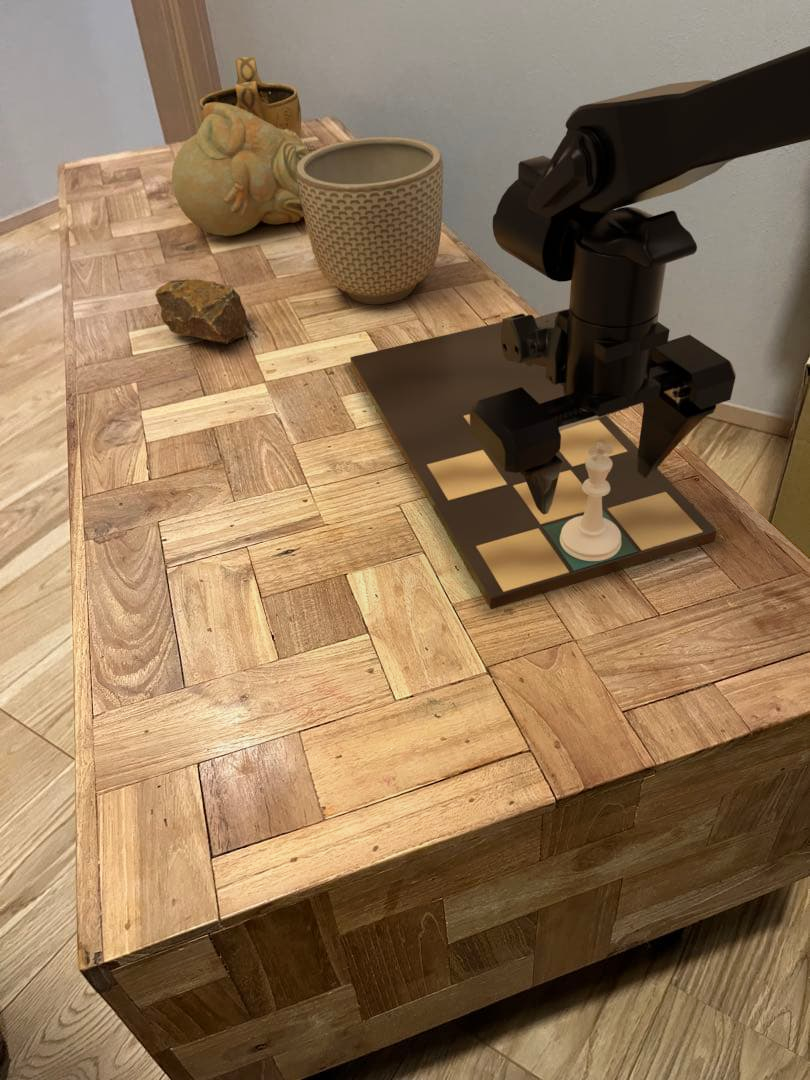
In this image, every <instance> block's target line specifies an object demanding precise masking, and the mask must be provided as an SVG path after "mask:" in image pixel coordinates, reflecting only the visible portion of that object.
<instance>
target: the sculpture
mask: <svg viewBox="0 0 810 1080" xmlns="http://www.w3.org/2000/svg"><path fill="white" fill-rule="evenodd" d="M203 112H204V118H205V119H204V121H203V122H201V124H200V125H199V128H198V130H197V132H196V133H195V134H194V135H192V136H191V137H190V138H189V139H187V140H186V141H185V142H184V143H183V145H182V146H181V147H180V149H179V150H178V152H177V154H176V156H175V159H174V162H173V165H172V173H171V175H172V176H171V181H172V182H171V183H172V189H173V193H174V196H175V197H174V198H175V199H176V202H177V205H178V206H179V208H180V209H181V211H182V212H183V214H184V216H186V218H188V219H189V220H190V222H191V223H192V224H194V225H195V226H196V227H198V228H199V229H200V230H201V229H202V230H203V231H205V232H206V233H210V234H213V235H215V236H223V237H224V236H226V237H229V236H231V237H232V236H237V235H241V234H244V233H246V232H249V231H250V230H252V229H253V228H255V227H256V226H257V225H258V224H259V223H260V222H261V223H264V224H267V225H274V226H277V225H282V224H288V223H290V224H294V223H297V222H299V221H300V219H303V218H304V214H303V210H302V205H301V201H300V197H299V192H298V187H297V180H296V167H297V164H298V163H299V161H300V160H301V159H302V158H303V157H305V156H306V155H308V154H309V153H311V152H310V151H309V149H308V148H307V146H306V144H305V143H304V142H303V140H302V139H301V138H300V136H299V137H298V136H297V135H296V133H295V132H293V131H291V130H289V129H285V130H281V129H279V128H276V127H275V126H273V125H272V124H270V123H268V122H266V121H263V120H262V119H260V118H258V117H257V116H255V115H253V114H252V113H249V112H247V111H246V110H243V109H240V108H238V107H236V106H232V105H229V104H225V103H219V102H212V103H208V104H207V103H206V104H205V106H204V110H203Z"/></svg>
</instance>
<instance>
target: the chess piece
mask: <svg viewBox="0 0 810 1080" xmlns="http://www.w3.org/2000/svg"><path fill="white" fill-rule="evenodd" d="M604 445H605V441H604V439H598V443H597V446H589V448H588V452H589V454H595V455H591V456H589V457H588V458H587V459H586V461H585V466H586V469H587V471H588V476H589V479H587V480H585V481H584V483H583V485H582V490H583V491H584V492H585V493H586V494H587V495H589V496H588V501H587V504H586V508H585V512H584V515H583V516H578V517H575V518H573V519H571V520H569V521H568V522H567V523H566V524H565V525H564V526H563V528H562V531H561V534H560V544H561V546H562V548H563V549H564V550H565V551H566V552H567V553H568V554H570V555H571V556H573V557H575V558H577V559H580V560H585V561H602V560H606V559H608V558H611V557H612V556H614V555H615V554H616V553H617V552H618V551H619V550H620V548H621V543H622V542H621V533H620V530H619V529H618V527H617V526H616V525H615V524H614V523H613V522H611V521H610V520H608V519H606V518H603V516H602V496H605V495H607V494H608V493H609V492H610V485H609V483H608V482H607V481H606V480H605V479H606V477H607V475H608V473H609V472H610V470H611V468H612V465H613V463H612V460H611V459H610V458H609V457H607V456H605V455H603V454H612V450H613V448H612V445H607V446H604Z"/></svg>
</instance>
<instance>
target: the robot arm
mask: <svg viewBox="0 0 810 1080" xmlns="http://www.w3.org/2000/svg"><path fill="white" fill-rule="evenodd" d="M565 128H566V129H567V130H566V133H565V135H564V136H563V138H562V140H561V141H560V143H559V145H558V146H557V148H556V150H555V152H554V153H553V155H552V157H551V158H549V157H548V156H545V155H540V156H535V157H531V158H528V159H525V160H520V161H519V163H518V167H517V168H518V169H517V179H516V180H514V181H513V183H511V185H509V186H508V188H507V189H506V190H505V192H504V193H503V195H502V196H501V198H500V200H499V202H498V204H497V207H496V211H495V213H494V214H493V216H492V233H493V237H494V238H495V239H494V240H495V242H496V243H497V245H498V246H499V247H500V249H501V250H503V251H504V252H506V253H507V254H509V255H511V256H512V257H513V258H516V259H517V260H519V261H521V262H522V263H524V264H526V265H527V266H528V267H530V268H532V269H533V270H535V271H537V272H538V273H540V274H542V275H543V276H545V277H546V278H548V279H550V280H552V281H555V282H557V283H563V282H569V281H570V292H569V305H568V308H567V309H561V310H558V311H555V312H550V313H548V314H547V313H546V314H544V315H541V316H537V317H534V315H533V314H527V315H526V314H525V313H518V314H514V315H511V316H508V317H505V318H502V319H501V322H502V329H501V344H502V350H503V355H504V356H505V358H506V359H507V360H508V361H511V362H515V363H519V364H520V363H524V362H525V363H526V365H528V366H532V365H533V364H534V365H538V366H542V367H546V378H547V379H548V380H549V381H550V382H551V383H552V384H553V385H557V384H561V385H562V386H564V390H563V392H564V395H565V396H562V397H559V398H556V399H553V400H550V401H547V402H544V403H540V404H539V403H538V402H537V401H536V400H535V399H534V398H533V397H532V396H531V395H529V394H528V393H527V392H526V391H525V390H524V389H523V388H522V387H520V388H517V389H514V390H511V391H507V392H504V393H501V394H498V395H495V396H491V397H488V398H485V399H482V400H479V401H478V402H476V403H475V404H474V405H473V407H472V410H471V412H470V433H471V434H472V435H473V436H474V438H475V439H476V440H477V441H478V442H479V443H480V444H481V445H482V446H483V447H484V449H485V450H486V451H487V452H488V453H489V454H490V455H491V456H492V457H493V458H494V460H495V461H496V462H497V463H498V464H499V465H500V466H501V467H502V468H503V470H504V471H507V472H513V473H518V472H519V473H520V474H521V475H523V476H524V477H525V480H526V482H527V485H528V487H529V490H530V492H531V495H532V497H533V500H534V502H535V504H536V507H537V508H538V510H539V511H540V512H541V513H542V514H543V515H545V514H547V513H548V512H549V510H550V507H551V505H552V502H553V498H554V494H555V490H556V486H557V481H558V477H559V473H560V469H561V465H562V460H561V459H560V458H559V457H558V456H557V455H556V454H557V452H558V451H559V450H560V446H561V434H560V432H559V431H561V430H564V429H567V428H571V427H574V426H577V425H580V424H583V423H586V422H589V421H592V420H595V419H598V418H601V417H604V416H609V415H612V414H616V413H619V412H621V411H624V410H628V409H629V408H631V407H634V406H636V405H640V404H642V407H643V411H642V418H641V426H640V433H639V439H638V447H637V448H638V461H637V470H638V472H639V474H641V475H642V476H643V477H644V478H647V477H649V476H650V475H651V474H652V473H653V472H654V471H655V470H656V469H657V468H659V466H660V465H661V464H662V463H663V462H664V461H665V460H666V459H667V458H668V456H669V455H670V454H671V453H672V452H673V451H674V449H676V448H677V447H678V445H679V444H680V443H681V442H682V441H683V440H684V439H685V438H686V437H687V436H688V435H689V434H690V433H691V432H692V431H693V430H694V429H695V428H696V427H697V426H698V425H699V424H700V423H701V422H702V421H703V420H704V419H705V418H706V417H707V416H709V415H712V414H714V413H715V411H716V409H717V405H719V404H722V403H725V402H728V401H730V400H731V399H732V395H733V390H734V386H735V381H736V377H737V374H736V372H735V368H734V366H733V363H732V362H731V360H730V359H727V358H726V357H725V356H723V355H721V354H720V353H718V352H717V351H715V350H714V349H713V348H711V347H709V346H708V345H706V344H705V343H703V342H702V341H700V340H699V339H697V338H696V337H695V336H692V335H691V334H685V335H684V336H680V337H677V338H674V339H671V340H669V337H670V331H671V330H670V328H668V327H667V326H665V325H664V324H662V323H661V322H659V321H658V320H659V314H660V306H661V301H662V294H663V288H664V280H665V273H666V266H667V264H669V263H671V262H674V261H677V260H681V259H683V258H684V259H685V258H686V257H687V258H688V257H689V256H693V255H695V254H696V253H697V250H698V245H697V242H696V240H695V239H694V237H693V235H692V233H691V232H690V231H689V230H688V229H686V227H684V226H683V224H682V223H681V221H680V220H679V217H678V213H677V211H675V210H669V211H666V212H662V213H659V214H655V215H653V214H651V213H650V212H647V211H644V210H642V209H640V208H637V207H633V206H630V205H633V204H637V203H640V202H643V201H647V200H651V199H653V198H657V197H660V196H661V197H662V196H663V195H664V196H665V195H667V194H670V193H674V192H677V191H679V190H683V189H685V188H687V187H689V186H691V185H693V184H694V183H697V182H698V181H700V180H703V179H704V178H706V177H708V176H709V177H710V176H711V175H713V174H714V173H716V172H718V171H719V170H720V169H722V168H723V167H724V166H725V165H726V164H728V163H729V162H731V161H733V160H736V159H739V158H742V157H747V156H750V155H754V154H758V153H762V152H767V151H771V150H774V149H775V150H776V149H778V148H782V147H786V146H791V145H795V144H799V143H803V142H806V141H810V45H809V46H805V47H803V48H800V49H798V50H795V51H793V52H789V53H786V54H783V55H782V56H779V57H777V58H773V59H771V60H768V61H765V62H763V63H760V64H757V65H754V66H752V67H749V68H746V69H743V70H740V71H738V72H735V73H733V74H729V75H727V76H724V77H722V78H720V79H716V80H709V79H702V80H694V81H693V80H692V81H685V82H675V83H674V82H673V83H667V84H664V85H660V86H659V85H658V86H656V87H652V88H647V89H644V90H640V91H636V92H631V93H628V94H623V95H619V96H616V97H611V98H608V99H607V98H606V99H603V100H600V101H595V102H591V103H586V104H583V105H579V106H578V107H577V108H576V109H574V110H573V111H572V112H571V113H570V115H569V116H568V118H567V119H566V122H565Z"/></svg>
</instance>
